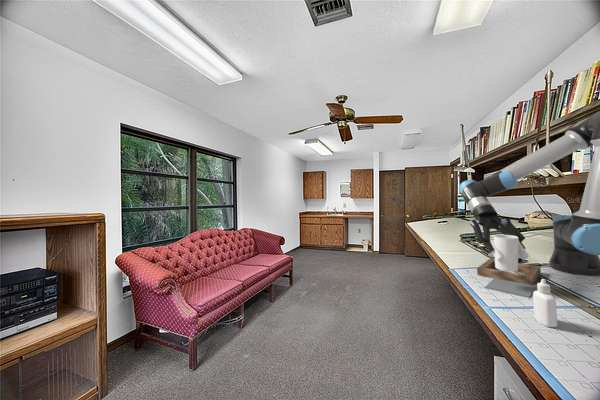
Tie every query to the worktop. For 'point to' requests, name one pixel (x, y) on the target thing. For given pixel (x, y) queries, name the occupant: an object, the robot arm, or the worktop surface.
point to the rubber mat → (511, 287)
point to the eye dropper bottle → (544, 305)
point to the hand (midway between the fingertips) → (512, 258)
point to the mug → (507, 252)
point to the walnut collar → (510, 273)
